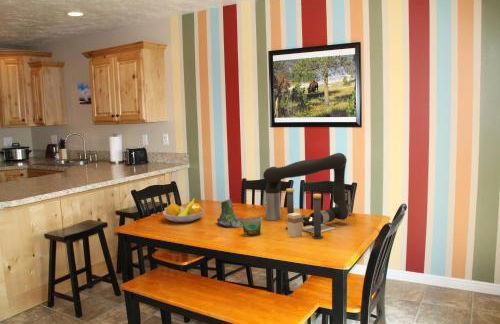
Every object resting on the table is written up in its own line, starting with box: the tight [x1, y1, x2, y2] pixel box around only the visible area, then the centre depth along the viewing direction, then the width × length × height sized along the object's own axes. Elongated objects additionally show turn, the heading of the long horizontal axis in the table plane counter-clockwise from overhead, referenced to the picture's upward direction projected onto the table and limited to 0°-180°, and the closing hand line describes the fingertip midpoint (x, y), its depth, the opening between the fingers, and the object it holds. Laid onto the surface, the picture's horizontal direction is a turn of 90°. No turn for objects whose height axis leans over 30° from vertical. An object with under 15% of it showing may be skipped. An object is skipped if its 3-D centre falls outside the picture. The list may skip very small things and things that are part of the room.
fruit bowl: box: [162, 197, 205, 223], centre depth 271 cm, size 28×27×11 cm
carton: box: [286, 212, 303, 238], centre depth 229 cm, size 6×6×12 cm
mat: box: [302, 223, 337, 234], centre depth 240 cm, size 12×16×1 cm
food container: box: [240, 215, 263, 237], centre depth 232 cm, size 12×6×10 cm, turn 105°
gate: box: [285, 188, 324, 240], centre depth 232 cm, size 28×6×24 cm, turn 35°
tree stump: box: [216, 198, 243, 229], centre depth 256 cm, size 18×20×18 cm
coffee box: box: [334, 189, 352, 217], centre depth 270 cm, size 9×6×16 cm
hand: (298, 223), depth 231 cm, fingers open, 8 cm apart
